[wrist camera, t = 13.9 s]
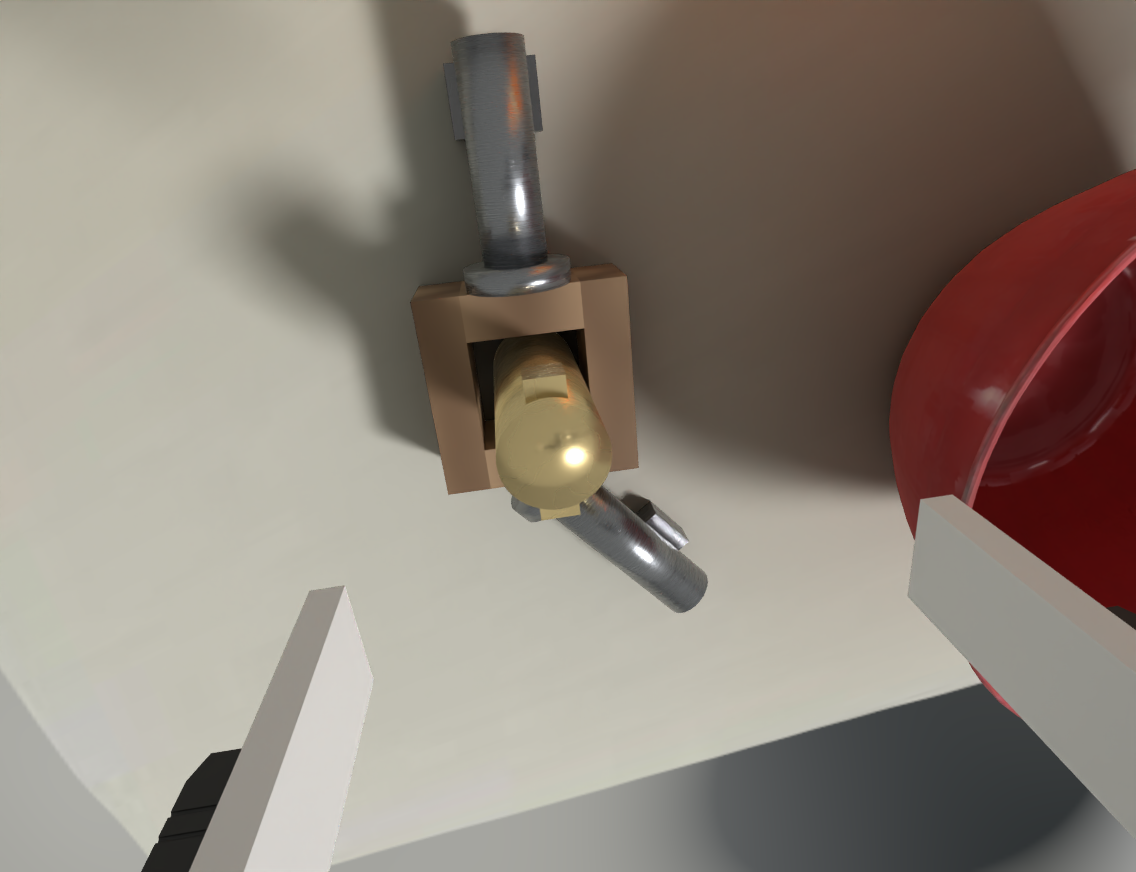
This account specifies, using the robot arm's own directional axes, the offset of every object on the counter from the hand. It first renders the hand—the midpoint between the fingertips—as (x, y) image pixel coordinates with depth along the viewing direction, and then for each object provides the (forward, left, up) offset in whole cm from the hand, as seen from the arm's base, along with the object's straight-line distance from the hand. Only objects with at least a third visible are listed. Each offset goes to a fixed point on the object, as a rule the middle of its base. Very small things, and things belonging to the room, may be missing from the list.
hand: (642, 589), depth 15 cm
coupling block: (+2, +1, -22) cm, 22 cm away
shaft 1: (+2, -9, -22) cm, 24 cm away
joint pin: (+1, +1, -22) cm, 22 cm away
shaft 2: (-2, +11, -22) cm, 25 cm away
